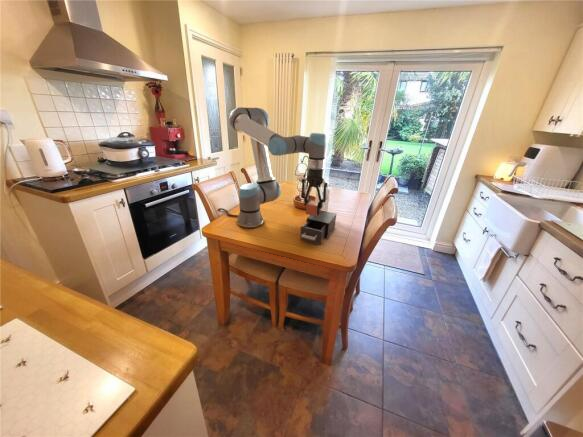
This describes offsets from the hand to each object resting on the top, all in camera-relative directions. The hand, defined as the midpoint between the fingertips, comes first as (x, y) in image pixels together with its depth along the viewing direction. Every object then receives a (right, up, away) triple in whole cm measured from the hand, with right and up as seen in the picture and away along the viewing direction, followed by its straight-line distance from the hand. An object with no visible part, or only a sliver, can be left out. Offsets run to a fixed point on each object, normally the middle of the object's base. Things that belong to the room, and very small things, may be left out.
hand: (312, 212), depth 120 cm
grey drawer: (+1, -14, +5) cm, 15 cm away
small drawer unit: (+6, -10, +15) cm, 19 cm away
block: (0, 0, 0) cm, 0 cm away
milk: (+8, -3, +31) cm, 32 cm away
